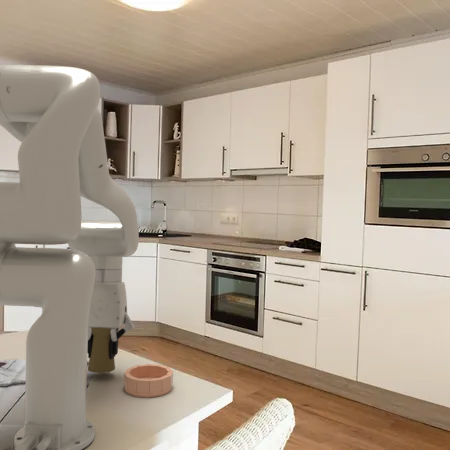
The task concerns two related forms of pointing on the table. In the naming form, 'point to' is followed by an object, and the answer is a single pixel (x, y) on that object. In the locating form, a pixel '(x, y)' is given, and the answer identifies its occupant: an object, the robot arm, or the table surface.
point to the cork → (101, 352)
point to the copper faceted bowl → (148, 380)
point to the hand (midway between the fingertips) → (102, 356)
